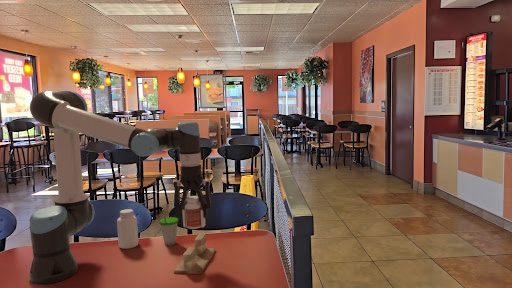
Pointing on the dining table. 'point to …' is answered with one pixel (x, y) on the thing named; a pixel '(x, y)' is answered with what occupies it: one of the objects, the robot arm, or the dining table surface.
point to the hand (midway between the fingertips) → (194, 225)
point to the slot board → (195, 257)
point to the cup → (169, 229)
